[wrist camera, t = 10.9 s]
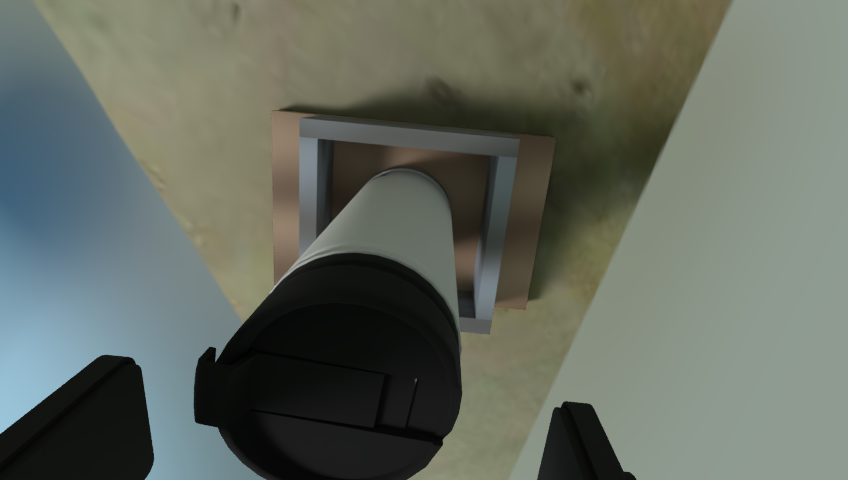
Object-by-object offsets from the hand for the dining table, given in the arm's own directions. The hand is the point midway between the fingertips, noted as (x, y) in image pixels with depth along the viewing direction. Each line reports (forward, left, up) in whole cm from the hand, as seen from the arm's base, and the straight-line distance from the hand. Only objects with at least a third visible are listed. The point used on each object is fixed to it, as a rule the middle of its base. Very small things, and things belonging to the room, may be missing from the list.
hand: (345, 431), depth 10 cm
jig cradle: (0, 0, -22) cm, 22 cm away
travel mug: (0, 0, -21) cm, 21 cm away
